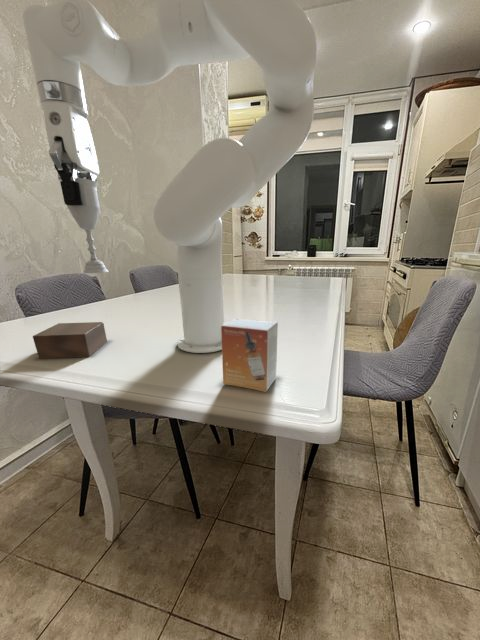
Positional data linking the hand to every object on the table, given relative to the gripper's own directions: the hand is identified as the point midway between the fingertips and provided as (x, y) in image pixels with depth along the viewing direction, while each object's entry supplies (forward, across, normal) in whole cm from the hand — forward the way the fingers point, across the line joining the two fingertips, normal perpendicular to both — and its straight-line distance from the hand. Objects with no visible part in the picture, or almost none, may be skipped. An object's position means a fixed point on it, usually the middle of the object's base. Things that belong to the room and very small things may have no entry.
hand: (83, 206), depth 61 cm
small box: (+30, -26, -33) cm, 51 cm away
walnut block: (+30, -5, +5) cm, 31 cm away
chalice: (+13, 0, 0) cm, 13 cm away
